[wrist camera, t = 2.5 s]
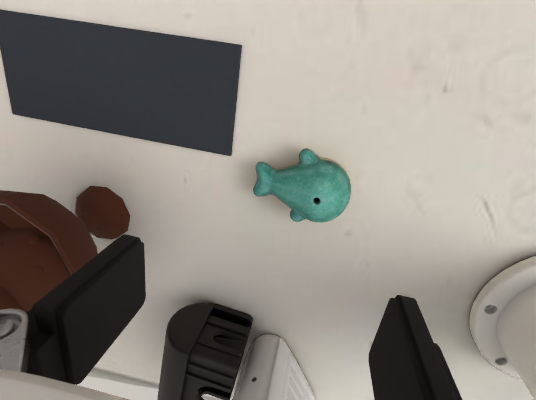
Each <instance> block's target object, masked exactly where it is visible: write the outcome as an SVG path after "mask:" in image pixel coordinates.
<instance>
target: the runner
mask: <svg viewBox="0 0 536 400" xmlns="http://www.w3.org/2000/svg"><path fill="white" fill-rule="evenodd" d="M241 48H242V45H237V44H230V43H224V42H217V41H210V40H203V39H196V38H190V37H183V36H176V35H169V34H162V33H155V32H149V31H142V30H135V29H128V28H121V27H114V26H108V25H101V24H94V23H87V22H80V21H73V20H67V19H60V18H53V17H46V16H39V15H32V14H26V13H19V12H12V11H5V10H0V49H1V54H2V60H3V65H4V71H5V76H6V81H7V87H8V92H9V97H10V103H11V108H12V113H13V114H15V115H20V116H26V117H31V118H36V119H41V120H46V121H52V122H57V123H62V124H67V125H72V126H78V127H83V128H88V129H93V130H98V131H103V132H109V133H114V134H119V135H124V136H129V137H135V138H140V139H145V140H150V141H155V142H160V143H166V144H171V145H176V146H181V147H186V148H192V149H197V150H202V151H207V152H212V153H217V154H223V155H228V156H231V151H232V141H233V131H234V120H235V110H236V100H237V89H238V79H239V69H240V58H241Z"/></svg>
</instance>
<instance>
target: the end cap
mask: <svg viewBox="0 0 536 400" xmlns="http://www.w3.org/2000/svg"><path fill="white" fill-rule="evenodd" d="M252 322H253V318H252V317H251V316H250V315H248V314H246V313H243V312H240V311H237V310H234V309H231V308H228V307H224V306H221V305H218V304H212V303H208V304H205V303H197V304H191V305H188V306H185V307H183V308H182V309H180V310H178V311H177V312H176V313H175V314H174V315H173V316H172V317H171V319H170V321H169V323H168V325H167V329H166V337H165V345H164V353H163V360H162V368H161V376H160V383H159V391H158V400H204V399H203V398H202V397H201V396H202V395H203V394H209V395H212V396H215V397H217V398H220V399H223V400H230V397H231V393H232V390H233V387H234V384H235V380H236V377H237V374H238V371H239V367H240V364H241V360H242V357H243V353H244V350H245V346H246V343H247V339H248V336H249V332H250V329H251V325H252Z"/></svg>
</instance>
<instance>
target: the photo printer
mask: <svg viewBox="0 0 536 400" xmlns="http://www.w3.org/2000/svg"><path fill="white" fill-rule="evenodd" d="M232 400H315V398H314V395H313V392H312V390H311V388H310V386H309V384H308V382H307V380H306V378H305V376H304V374H303V373H302V371H301V369H300V367H299V365H298V363H297V361H296V360H295V358H294V356H293V354H292V352H291V351H290V349H289V347H288V346H287V344H286V343H285V341H284V340H283V339H282V338H278V337H277V336H276V335H262V336H260V337H258V338H257V339H256V340H255V342H254V343H252V344H251V345H250V347H249V349H248V352H247V355H246V358H245V361H244V364H243V367H242V371H241V374H240V377H239V380H238V383H237V386H236V390H235V393H234V396H233V399H232Z"/></svg>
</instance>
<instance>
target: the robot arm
mask: <svg viewBox="0 0 536 400" xmlns="http://www.w3.org/2000/svg"><path fill="white" fill-rule="evenodd" d="M145 297H146V292H145V259H144V243H143V242H141V240H140V238H138V237H134V236H130V235H122V236H121V237H119V238H118V239H117V240H115V241H114V242H113V243H112V244H110V245H109V246H108V247H106V248H105V249H104V250H103V251H101V252H100V253H99V254H97V255H96V256H95V257H94V258H92V259H91V260H90V261H88V262H87V263H86V264H85V265H83V266H82V267H81V268H79V269H78V270H77V271H76V272H74V273H73V274H72V275H70V276H69V277H68V278H67V279H65V280H64V281H63V282H61V283H60V284H59V285H58V286H56V287H55V288H54V289H52V290H51V291H50V292H49V293H47V294H46V295H45V296H44V297H42V298H41V299H40V300H38V301H37V302H36V303H35V304H33V305H32V307H33V308H32V309H30V310H29V311H28V312H27V313H26V312H25V311H23V310H20V309H11V308H10V309H2V310H0V400H129V399H125V398H121V397H118V396H114V395H111V394H107V393H104V392H100V391H96V390H92V389H89V388H85V387H81V386H78V385H77V384H79V383H81V382H82V381H83V380H84V378H85V377H86V376H87V375H88V373H89V372H90V371H91V370H92V368H93V367H94V366H95V365H96V363H97V362H98V361H99V360H100V358H101V357H102V356H103V355H104V353H105V352H106V351H107V350H108V348H109V347H110V346H111V345H112V343H113V342H114V341H115V340H116V338H117V337H118V336H119V335H120V333H121V332H122V331H123V330H124V328H125V327H126V326H127V325H128V323H129V322H130V321H131V319H132V318H133V317H134V316H135V314H136V313H137V312H138V311H139V309H140V308H141V307H142V306H143V304H144V301H145ZM469 326H470V330H471V334H472V337H473V339H474V341H475V343H476V345H477V347H478V349H479V350H480V352H481V353H482V355H483V356H484V357H485V359H486V360H487V361H488V362H490V363H491V364H492V365H493V366H494V367H496V368H497V369H499V370H501V371H502V372H504V373H505V374H508V375H510V376H513V377H515V378H517V379H520V380H522V381H523V382H524V384H525V385H526V387H527V388H528V390H529V391H530V393H531V395H532V396H533V398H534V399H535V400H536V256H534V257H531V258H528V259H526V260H523V261H520V262H518V263H516V264H514V265H512V266H511V267H509V268H507V269H505V270H503V271H502V272H501V273H499V274H498V275H497V276H495V277H494V278H493V279H491V280H490V281H489V282H488V283H487V284H486V286H485V287H484V288H483V289H482V290H481V291H480V293H479V294H478V296H477V298H476V299H475V301H474V303H473V306H472V309H471V312H470V323H469ZM369 366H370V373H371V379H372V386H373V392H374V398H375V400H462V398H461V396H460V393H459V391H458V389H457V386H456V384H455V382H454V379H453V377H452V375H451V372H450V370H449V368H448V365H447V363H446V361H445V358H444V356H443V354H442V351H441V349H440V347H439V346H438V345H437V344H436V343H434V342H433V340H432V338H431V335H430V333H429V330H428V328H427V325H426V323H425V321H424V318H423V316H422V313H421V311H420V309H419V306H418V304H417V301H416V300H415V299H414V298H410V297H405V296H401V295H397V296H396V297H395V298H390V300H389V302H388V305H387V307H386V310H385V312H384V315H383V318H382V320H381V323H380V325H379V328H378V331H377V333H376V336H375V339H374V341H373V344H372V346H371V349H370V352H369ZM75 384H76V385H75Z"/></svg>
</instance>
